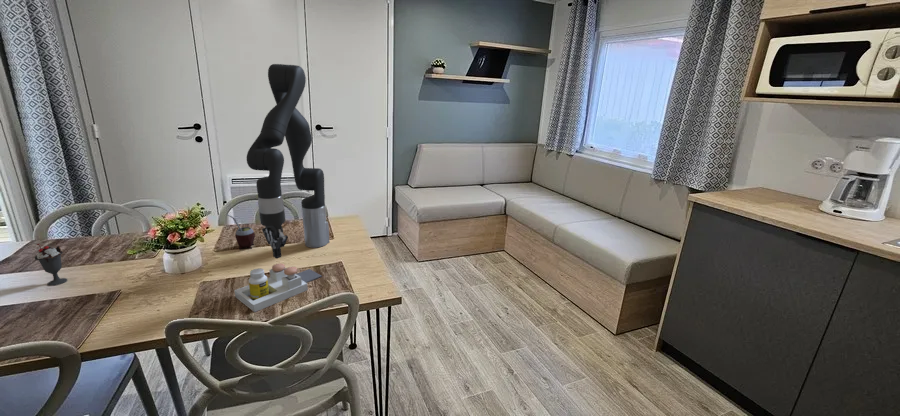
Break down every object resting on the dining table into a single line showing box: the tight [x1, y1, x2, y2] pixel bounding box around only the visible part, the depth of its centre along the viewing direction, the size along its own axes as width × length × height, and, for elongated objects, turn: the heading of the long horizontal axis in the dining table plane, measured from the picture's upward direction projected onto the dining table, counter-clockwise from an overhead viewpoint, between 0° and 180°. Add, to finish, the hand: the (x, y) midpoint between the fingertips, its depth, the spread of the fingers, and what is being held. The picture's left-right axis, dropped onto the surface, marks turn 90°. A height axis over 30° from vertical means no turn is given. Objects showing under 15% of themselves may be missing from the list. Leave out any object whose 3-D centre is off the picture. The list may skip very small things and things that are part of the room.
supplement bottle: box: [248, 268, 270, 301], centre depth 125 cm, size 5×5×10 cm
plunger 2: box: [284, 266, 298, 280], centre depth 128 cm, size 4×4×4 cm
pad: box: [296, 268, 323, 284], centre depth 140 cm, size 8×8×1 cm
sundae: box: [34, 243, 68, 287], centre depth 129 cm, size 7×7×15 cm
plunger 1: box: [271, 262, 286, 272], centre depth 134 cm, size 4×4×4 cm
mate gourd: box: [226, 213, 256, 250], centre depth 161 cm, size 8×8×15 cm
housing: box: [233, 267, 309, 313], centre depth 128 cm, size 18×13×6 cm
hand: (277, 257), depth 132 cm, fingers closed
